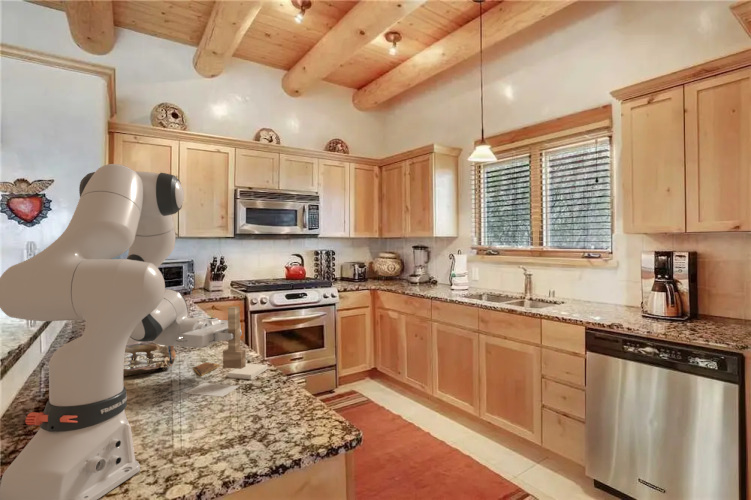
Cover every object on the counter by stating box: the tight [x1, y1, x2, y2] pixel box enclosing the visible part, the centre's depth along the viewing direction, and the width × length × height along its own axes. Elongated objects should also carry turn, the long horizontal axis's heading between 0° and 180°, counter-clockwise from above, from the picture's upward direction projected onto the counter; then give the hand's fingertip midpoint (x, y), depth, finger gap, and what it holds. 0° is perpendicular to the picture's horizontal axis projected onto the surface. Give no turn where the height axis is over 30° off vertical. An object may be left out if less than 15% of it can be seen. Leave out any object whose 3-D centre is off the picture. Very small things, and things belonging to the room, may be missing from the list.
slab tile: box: [227, 362, 268, 380], centre depth 127 cm, size 2×8×10 cm
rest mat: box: [184, 382, 240, 397], centre depth 113 cm, size 8×12×1 cm, turn 76°
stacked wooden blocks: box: [222, 305, 247, 369], centre depth 119 cm, size 2×6×18 cm, turn 76°
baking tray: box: [123, 342, 177, 377], centre depth 136 cm, size 30×22×5 cm
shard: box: [192, 362, 221, 377], centre depth 130 cm, size 11×8×2 cm
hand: (236, 334), depth 119 cm, fingers closed on stacked wooden blocks, 2 cm apart
